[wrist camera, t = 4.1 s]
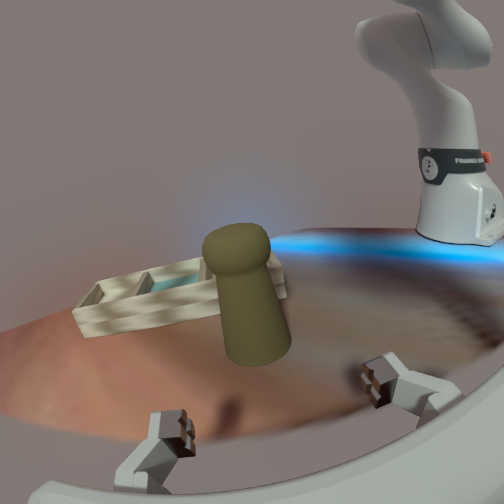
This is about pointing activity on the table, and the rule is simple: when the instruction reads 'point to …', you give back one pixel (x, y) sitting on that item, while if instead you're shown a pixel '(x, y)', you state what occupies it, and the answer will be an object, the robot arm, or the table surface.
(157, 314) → the divided tray
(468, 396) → the robot arm
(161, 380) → the table surface
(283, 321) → the cork
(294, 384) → the table surface
